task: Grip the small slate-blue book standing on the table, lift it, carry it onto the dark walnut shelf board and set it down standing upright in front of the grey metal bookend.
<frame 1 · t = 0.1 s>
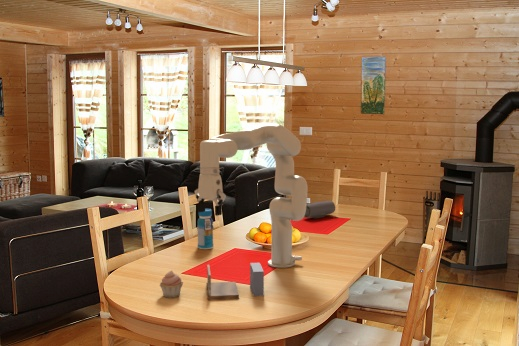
hand: (210, 213, 234), 31 cm above the table, tool pointing down, fingers open, 9 cm apart
beverage bottle: (205, 247, 300), on the table
cupcake: (171, 295, 229), on the table
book: (256, 291, 234), on the table
shelf: (222, 292, 233), on the table
bluetooth speaker: (318, 217, 374), on the table
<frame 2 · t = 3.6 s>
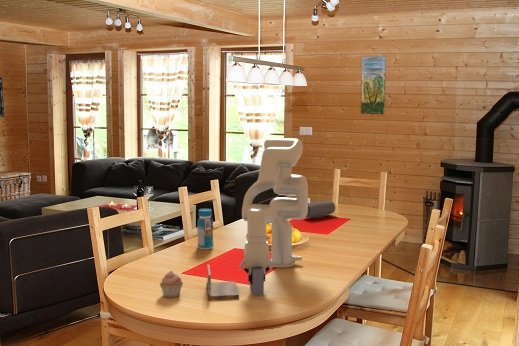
hand: (256, 282, 234), 3 cm above the table, tool pointing down, fingers closed on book, 4 cm apart
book: (256, 290, 234), on the table, touching gripper
everything else where it was.
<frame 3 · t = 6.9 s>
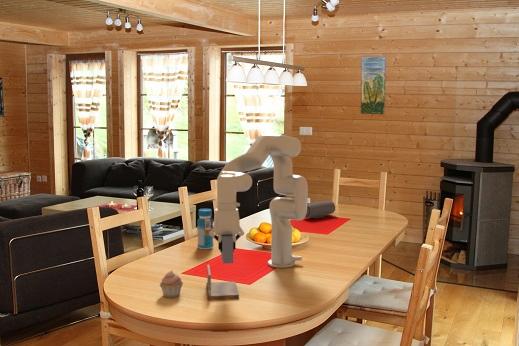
hand: (227, 250, 231), 17 cm above the table, tool pointing down, fingers closed on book, 4 cm apart
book: (227, 259, 231), point 14 cm above the table, touching gripper
everything else where it was.
when the fingers open (6 cm above the table, at t = 10.2 s): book stays where it is, resting on shelf.
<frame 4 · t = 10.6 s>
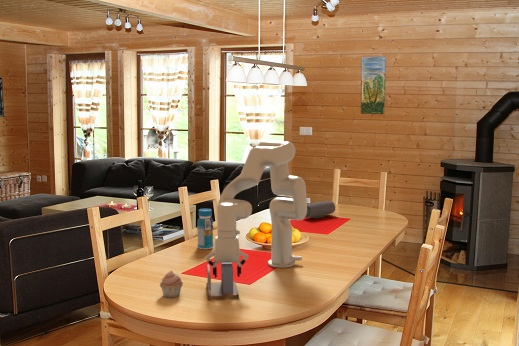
hand: (227, 276, 232), 7 cm above the table, tool pointing down, fingers open, 8 cm apart
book: (227, 288, 233), point 1 cm above the table, touching shelf
everything else where it was.
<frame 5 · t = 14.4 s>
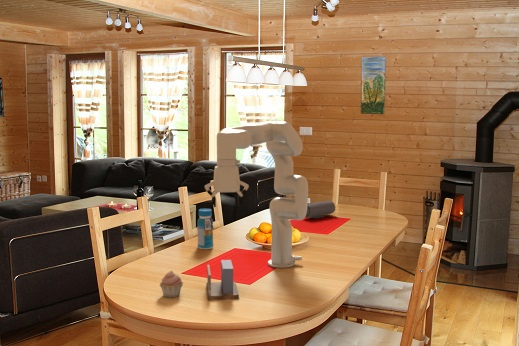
hand: (226, 206, 228), 35 cm above the table, tool pointing down, fingers open, 9 cm apart
nothing on the table moved.
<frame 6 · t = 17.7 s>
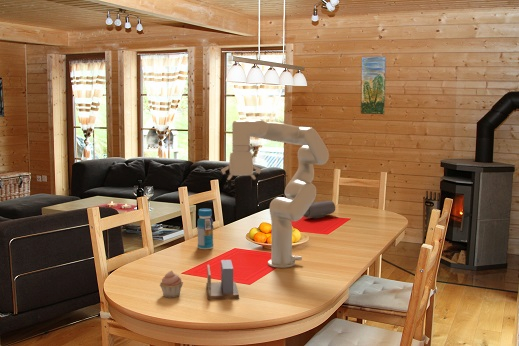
hand: (241, 188, 251), 38 cm above the table, tool pointing down, fingers open, 9 cm apart
nothing on the table moved.
at the end: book inside the target area on the shelf (1.3 cm from its centre), point 1.5 cm above the shelf's base; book tilted 0°; the gripper is holding nothing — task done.
